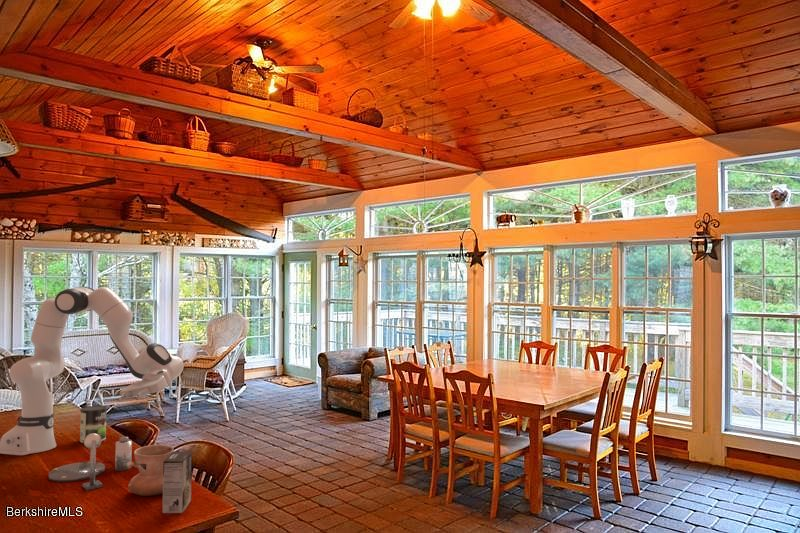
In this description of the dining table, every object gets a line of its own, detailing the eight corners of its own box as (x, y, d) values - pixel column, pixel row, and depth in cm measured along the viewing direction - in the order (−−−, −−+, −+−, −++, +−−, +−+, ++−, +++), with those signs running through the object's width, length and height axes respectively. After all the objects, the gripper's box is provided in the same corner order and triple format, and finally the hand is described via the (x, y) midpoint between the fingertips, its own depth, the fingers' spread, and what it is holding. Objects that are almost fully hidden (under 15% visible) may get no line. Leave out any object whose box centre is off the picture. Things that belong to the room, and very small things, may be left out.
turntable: (36, 481, 197) (37, 477, 197) (67, 464, 215) (68, 460, 215) (87, 482, 197) (87, 478, 197) (114, 465, 215) (114, 461, 215)
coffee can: (111, 437, 252) (112, 406, 253) (94, 443, 242) (95, 411, 243) (91, 435, 254) (92, 404, 255) (74, 442, 244) (74, 409, 245)
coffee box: (171, 501, 181) (172, 451, 181) (191, 501, 181) (192, 451, 182) (161, 513, 172) (162, 460, 172) (182, 513, 172) (184, 460, 172)
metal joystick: (102, 486, 193) (103, 434, 193) (86, 490, 189) (87, 437, 190) (98, 482, 196) (99, 431, 197) (82, 486, 193) (83, 434, 193)
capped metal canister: (112, 470, 209) (112, 439, 209) (119, 465, 215) (120, 435, 215) (126, 470, 209) (127, 439, 209) (134, 465, 215) (134, 435, 215)
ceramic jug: (130, 504, 178) (132, 459, 179) (119, 490, 189) (121, 448, 190) (188, 492, 189) (189, 450, 190) (174, 480, 201) (176, 440, 201)
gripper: (132, 378, 235) (107, 395, 223) (168, 370, 228) (145, 386, 215) (138, 391, 236) (113, 408, 224) (175, 384, 229) (151, 401, 217)
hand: (129, 398), depth 219 cm, fingers open, 8 cm apart
